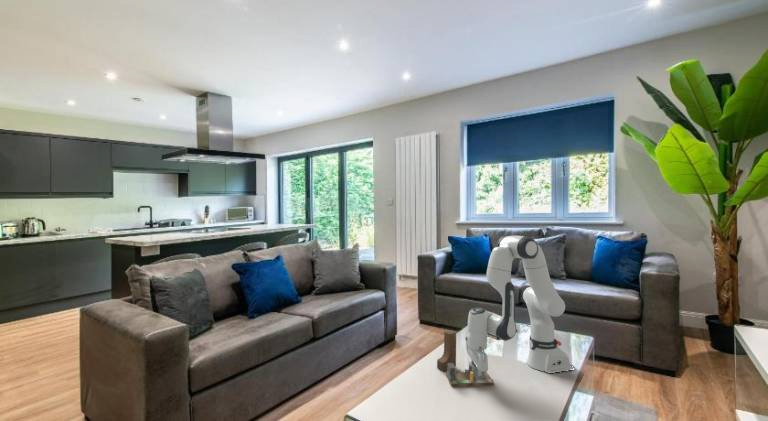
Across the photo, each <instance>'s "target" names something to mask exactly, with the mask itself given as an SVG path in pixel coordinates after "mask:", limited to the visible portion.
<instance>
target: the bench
mask: <svg viewBox="0 0 768 421" xmlns="http://www.w3.org/2000/svg"><path fill="white" fill-rule="evenodd" d="M456 368H457V367H455V366H454V364H453V363H448V368H447V370H446V373H445V376H446V379H447V381H448V383H449V385H450V386H451V388H457V387H458V388H459V387H465V388H466V387H488V386H489V387H492V386H495V381H494V380H493V378H492V377H491V376H490V374H489V373H488V371H487V372H485V380H476V382H471V381H470V376H469V373H465V371H461V372H460V371H459V372H456Z"/></svg>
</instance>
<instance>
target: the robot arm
mask: <svg viewBox="0 0 768 421" xmlns="http://www.w3.org/2000/svg"><path fill="white" fill-rule="evenodd" d="M515 259H521V261H522V265H523V266H522V267H523V271H524V276H525V280H526V282H527V284H528V285H529V287H526V288H525V290H523V294H522V298H523V301H524V302H525V305H526V307H527V310H528V315H529V319H530V335H529V343H528V344H529V351H528V356H527V360H526V364H527V366H529V367H531V368H532V369H534V370H537V371H541V372H544V371H545V373H547V372H548V374H549V373H554V374H556V373H555V372H560V373H562V372H561V371H566V370H570V369H573V368H575V366H574V364H573V363H572V362H570V357H569V355H568V354H567V353H566V352H565V351H564V350H563V349H561V348H560V347H561V346H562V341H560V340H557V339H556V338H555V323H554V321H553V320H552V318H551V317H555V318H557V317H561V315H563V314H564V312H565V310H566V304H565V300H563V299H562V297H561V296H560V295H559V293H558V291H557V290H556V287H555V286H554V283H553V282H552V279H551V277H550V272H549V269H548V264H547V260H546V256H545V253H544V252H543V249H542V247H541V246H540V245H539V244H538V242H537V241H536V240H535V239H534V238H532V237H529V236H523V235H504V236H501V237H500V238H499V239H498V241H497V244H496V246H495V247H493V248H492V251H491V252H490V255H489V259H488V263H487V268H486V280H487V282H488V283H489V284H490V286H491V287H493V288H494V289H495V290H496V291H497V292H498V293H499V295H500V296H501V298H502V311H501V312H502V315H499V314H497V313H494V312H491V311H488V310H486V309H485V308H484V307H482V306H481V307H479V306H478V307H476V306H475V307H473V308H471V309H470V310H469V312H468V317H467V329H468V333H467V335H465V338H464V339H465V341H466V343H465V344H466V345H465V346H466V353H467V355H468V356H469V357H470V359H471V362H474V363H475V365H476V366H477V369H478V370H477V375H478V376H481V373H482V372H487V373H488V371H489V360H488V355H487V353H486V352H485V350H486V349H487V348H488V336H487V335H486V334H487V333H490V334H492V335H494V336H497V337H498V338H500V339H499V340H502V341H505V342H506V341H510V340H512V339H513V338H514V337H515V336H516V333H517V331H516V329H517V323H516V289H515V285H514V284H513V282H512V281H513V280H512V273H511V272H512V267H513V266H512V265H513V261H514V260H515ZM572 366H573V367H572Z"/></svg>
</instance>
